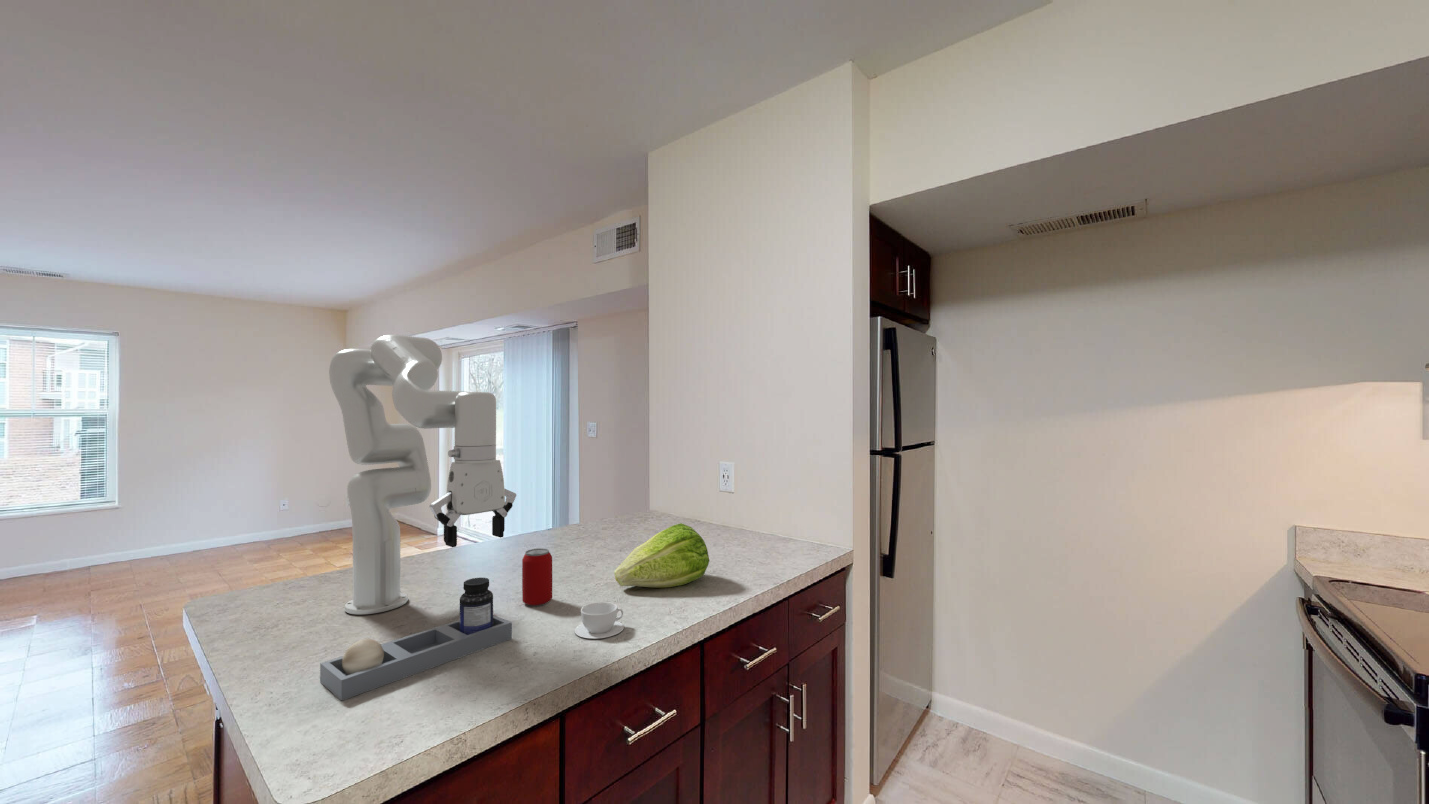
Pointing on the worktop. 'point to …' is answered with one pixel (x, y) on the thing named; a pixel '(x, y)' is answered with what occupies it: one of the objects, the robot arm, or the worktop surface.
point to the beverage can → (537, 577)
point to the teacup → (599, 621)
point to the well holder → (412, 656)
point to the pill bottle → (476, 606)
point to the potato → (362, 656)
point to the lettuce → (665, 559)
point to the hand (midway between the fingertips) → (475, 540)
